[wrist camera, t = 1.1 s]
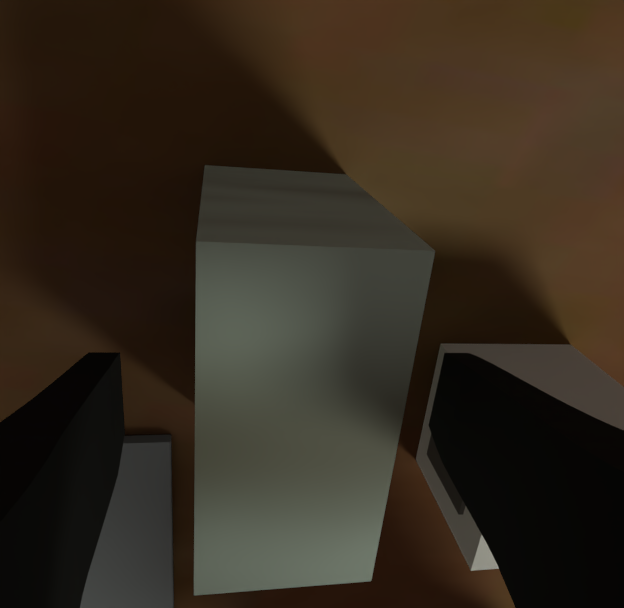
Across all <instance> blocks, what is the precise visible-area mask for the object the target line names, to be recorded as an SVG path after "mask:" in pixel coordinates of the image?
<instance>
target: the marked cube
mask: <svg viewBox="0 0 624 608" xmlns="http://www.w3.org/2000/svg"><path fill="white" fill-rule="evenodd" d="M444 353H470V354H473V355H475V356H478V357H480V358H482V359H484V360H486V361H488V362H490V363H492V364H494V365H496V366H498V367H500V368H501V369H503V370H505V371H507V372H509V373H511V374H512V375H514V376H516V377H518V378H520V379H521V380H523V381H525V382H527V383H529V384H531V385H532V386H534V387H536V388H538V389H540V390H541V391H543V392H545V393H547V394H549V395H551V396H553V397H555V398H557V399H558V400H560V401H562V402H564V403H566V404H568V405H570V406H572V407H574V408H576V409H578V410H580V411H582V412H584V413H586V414H588V415H590V416H592V417H594V418H597V419H599V420H601V421H603V422H605V423H608V424H610V425H612V426H614V427H617V428H619V429H622V430H624V387H623V386H622V385H620V384H619V383H618V382H617V381H615V380H614V379H613V378H612V377H610V376H609V375H608V374H607V373H605V372H604V371H603V370H602V369H600V368H599V367H598V366H597V365H595V364H594V363H593V362H592V361H590V360H589V359H588V358H587V357H585V356H584V355H583V354H582V353H580V352H579V351H578V350H577V349H576V348H574V347H573V346H572V345H571V344H440V349H439V353H438V358H437V363H436V367H435V372H434V376H433V381H432V386H431V390H430V395H429V400H428V404H427V409H426V414H425V418H424V423H423V428H422V432H421V437H420V441H419V446H418V451H417V455H416V461H417V463H418V465H419V467H420V469H421V471H422V473H423V475H424V477H425V480H426V482H427V484H428V486H429V488H430V490H431V492H432V494H433V496H434V498H435V500H436V502H437V504H438V506H439V508H440V510H441V512H442V514H443V516H444V518H445V520H446V522H447V524H448V526H449V528H450V530H451V532H452V534H453V536H454V538H455V540H456V542H457V544H458V546H459V548H460V550H461V552H462V554H463V556H464V558H465V560H466V562H467V564H468V566H469V568H470V570H471V571H472V570H486V569H499V567H498V565H497V563H496V561H495V559H494V557H493V555H492V553H491V551H490V549H489V547H488V545H487V543H486V541H485V540H484V538H483V536H482V534H481V532H480V531H479V529H478V527H477V525H476V523H475V521H474V520H473V518H472V516H471V514H470V512H469V511H468V509H467V507H466V505H465V504H464V502H463V500H462V498H461V496H460V495H459V493H458V491H457V489H456V487H455V485H454V484H453V482H452V480H451V478H450V476H449V474H448V472H447V471H446V469H445V467H444V465H443V463H442V461H441V458H440V455H439V453H438V450H437V448H436V445H435V442H434V440H433V437H432V434H431V431H430V428H429V421H430V416H431V412H432V407H433V403H434V398H435V394H436V389H437V385H438V380H439V375H440V371H441V366H442V362H443V357H444Z"/></svg>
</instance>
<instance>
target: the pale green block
mask: <svg viewBox="0 0 624 608" xmlns="http://www.w3.org/2000/svg"><path fill="white" fill-rule="evenodd" d="M434 255H435V250H434V249H433V248H431V247H430V246H429V245H428V244H427V243H426V242H424V241H423V240H422V239H421V238H420V237H419V236H417V235H416V234H415V233H414V232H413V231H412V230H410V229H409V228H408V227H407V226H406V225H405V224H403V223H402V222H401V221H400V220H399V219H398V218H396V217H395V216H394V215H393V214H392V213H391V212H389V211H388V210H387V209H386V208H385V207H384V206H382V205H381V204H380V203H379V202H378V201H377V200H375V199H374V198H373V197H372V196H371V195H370V194H368V193H367V192H366V191H365V190H364V189H363V188H362V187H360V186H359V185H358V184H357V183H356V182H355V181H353V180H352V179H351V178H350V177H349V176H348V175H346V174H333V173H318V172H303V171H288V170H273V169H258V168H242V167H227V166H212V165H205V167H204V176H203V185H202V193H201V202H200V211H199V219H198V228H197V237H196V317H195V482H194V596H195V595H207V594H220V593H232V592H244V591H257V590H269V589H282V588H294V587H306V586H319V585H331V584H344V583H356V582H369V581H371V580H372V575H373V570H374V565H375V560H376V554H377V549H378V544H379V539H380V534H381V529H382V523H383V518H384V513H385V508H386V503H387V498H388V493H389V487H390V482H391V477H392V472H393V467H394V462H395V456H396V451H397V446H398V441H399V436H400V431H401V426H402V420H403V415H404V410H405V405H406V400H407V395H408V389H409V384H410V379H411V374H412V369H413V364H414V358H415V353H416V348H417V343H418V338H419V333H420V328H421V322H422V317H423V312H424V307H425V302H426V297H427V291H428V286H429V281H430V276H431V271H432V266H433V261H434Z"/></svg>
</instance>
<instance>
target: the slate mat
mask: <svg viewBox="0 0 624 608" xmlns="http://www.w3.org/2000/svg"><path fill="white" fill-rule="evenodd" d="M80 608H174V583H173V518H172V454H171V435H135V436H124V441H123V448H122V454H121V460H120V466H119V472H118V477H117V480H116V483H115V487H114V490H113V494H112V497H111V500H110V504H109V507H108V510H107V513H106V517H105V520H104V523H103V527H102V530H101V533H100V536H99V540H98V543H97V546H96V549H95V553H94V556H93V559H92V563H91V566H90V569H89V572H88V576H87V580H86V584H85V588H84V591H83V595H82V600H81V605H80Z"/></svg>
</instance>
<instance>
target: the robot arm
mask: <svg viewBox="0 0 624 608" xmlns="http://www.w3.org/2000/svg"><path fill="white" fill-rule="evenodd" d="M429 428H430V431H431V434H432V437H433V440H434V442H435V445H436V448H437V450H438V453H439V455H440V458H441V461H442V463H443V465H444V467H445V469H446V471H447V472H448V474H449V476H450V478H451V480H452V482H453V484H454V485H455V487H456V489H457V491H458V493H459V495H460V496H461V498H462V500H463V502H464V504H465V505H466V507H467V509H468V511H469V512H470V514H471V516H472V518H473V520H474V521H475V523H476V525H477V527H478V529H479V531H480V532H481V534H482V536H483V538H484V540H485V541H486V543H487V545H488V547H489V549H490V551H491V553H492V555H493V557H494V559H495V561H496V563H497V565H498V567H499V570H500V572H501V574H502V577H503V579H504V581H505V584H506V586H507V588H508V591H509V593H510V595H511V598H512V600H513V602H514V605H515V607H516V608H624V430H622V429H619V428H617V427H614V426H612V425H610V424H608V423H605V422H603V421H601V420H599V419H597V418H594V417H592V416H590V415H588V414H586V413H584V412H582V411H580V410H578V409H576V408H574V407H572V406H570V405H568V404H566V403H564V402H562V401H560V400H558V399H557V398H555V397H553V396H551V395H549V394H547V393H545V392H543V391H541V390H540V389H538V388H536V387H534V386H532V385H531V384H529V383H527V382H525V381H523V380H521V379H520V378H518V377H516V376H514V375H512V374H511V373H509V372H507V371H505V370H503V369H501V368H500V367H498V366H496V365H494V364H492V363H490V362H488V361H486V360H484V359H482V358H480V357H478V356H475V355H473V354H470V353H444V357H443V362H442V366H441V371H440V375H439V380H438V385H437V389H436V394H435V398H434V403H433V407H432V412H431V416H430V421H429ZM124 435H125V429H124V412H123V395H122V378H121V361H120V353H88V354H87V355H85V356H84V357H83V358H82V359H80V360H79V361H78V362H77V363H76V364H74V365H73V366H72V367H71V368H70V369H69V370H67V371H66V372H65V373H64V374H63V375H61V376H60V377H59V378H58V379H57V380H55V381H54V382H53V383H52V384H50V385H49V386H48V387H47V388H46V389H44V390H43V391H42V392H41V393H39V394H38V395H37V396H36V397H34V398H33V399H32V400H31V401H29V402H28V403H26V404H25V405H24V406H22V407H21V408H20V409H18V410H17V411H15V412H14V413H13V414H11V415H10V416H9V417H7V418H6V419H4V420H3V421H2V422H0V608H80V605H81V600H82V595H83V591H84V588H85V584H86V580H87V576H88V572H89V569H90V566H91V563H92V559H93V556H94V553H95V549H96V546H97V543H98V540H99V536H100V533H101V530H102V527H103V523H104V520H105V517H106V513H107V510H108V507H109V504H110V500H111V497H112V494H113V490H114V487H115V483H116V480H117V477H118V472H119V466H120V460H121V454H122V448H123V441H124Z"/></svg>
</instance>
